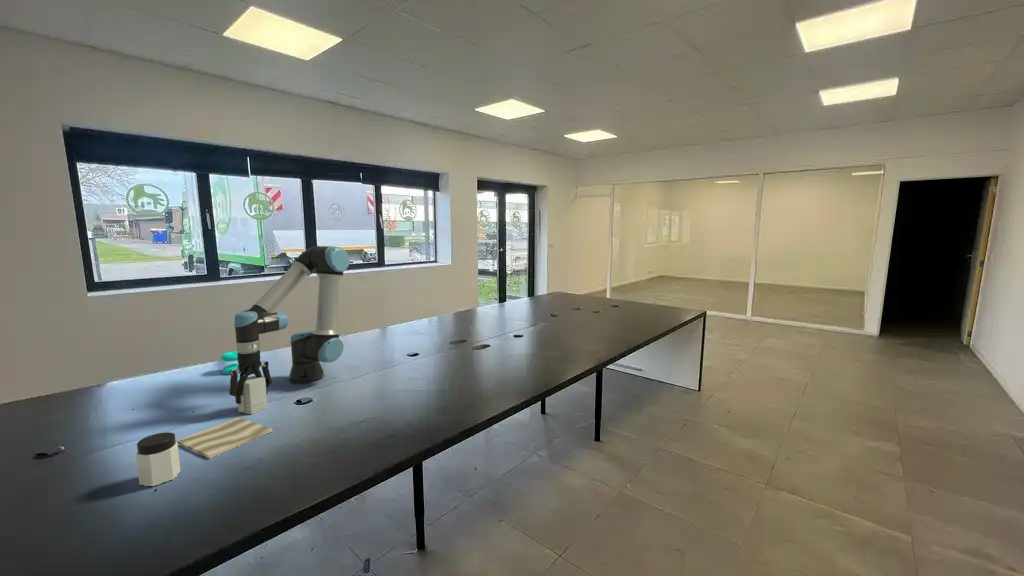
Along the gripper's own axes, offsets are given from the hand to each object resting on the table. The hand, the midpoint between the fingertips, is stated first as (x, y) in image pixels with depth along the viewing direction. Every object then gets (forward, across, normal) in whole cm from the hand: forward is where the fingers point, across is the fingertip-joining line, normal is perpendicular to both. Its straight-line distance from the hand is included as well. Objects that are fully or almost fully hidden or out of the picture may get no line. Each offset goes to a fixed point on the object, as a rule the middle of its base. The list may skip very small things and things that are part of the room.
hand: (252, 406), depth 162 cm
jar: (+2, -40, -24) cm, 47 cm away
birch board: (+1, -18, -15) cm, 23 cm away
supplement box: (+2, 0, 0) cm, 2 cm away
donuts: (+2, +23, +55) cm, 60 cm away
